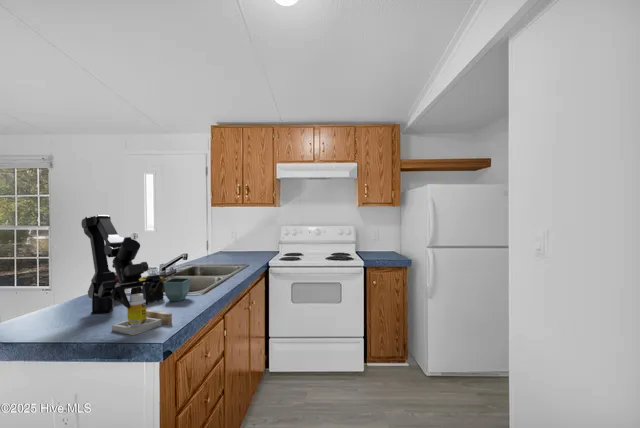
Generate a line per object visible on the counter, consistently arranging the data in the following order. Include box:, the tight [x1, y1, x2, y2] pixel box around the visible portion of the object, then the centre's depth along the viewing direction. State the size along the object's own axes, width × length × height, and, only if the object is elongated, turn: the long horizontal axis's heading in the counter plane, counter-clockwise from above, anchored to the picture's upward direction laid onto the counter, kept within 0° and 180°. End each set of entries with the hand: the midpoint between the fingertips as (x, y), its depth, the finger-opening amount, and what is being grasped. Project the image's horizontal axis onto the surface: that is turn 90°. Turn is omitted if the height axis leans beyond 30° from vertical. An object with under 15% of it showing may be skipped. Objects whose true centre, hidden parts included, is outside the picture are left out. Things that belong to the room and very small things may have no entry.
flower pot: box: [163, 277, 192, 302], centre depth 151 cm, size 9×9×9 cm
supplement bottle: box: [127, 293, 147, 327], centre depth 114 cm, size 6×6×10 cm
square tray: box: [111, 317, 162, 336], centre depth 114 cm, size 10×10×2 cm
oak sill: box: [146, 309, 173, 325], centre depth 120 cm, size 14×2×4 cm, turn 67°
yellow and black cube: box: [130, 275, 165, 303], centre depth 151 cm, size 10×10×10 cm
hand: (138, 305), depth 113 cm, fingers closed on supplement bottle, 5 cm apart
